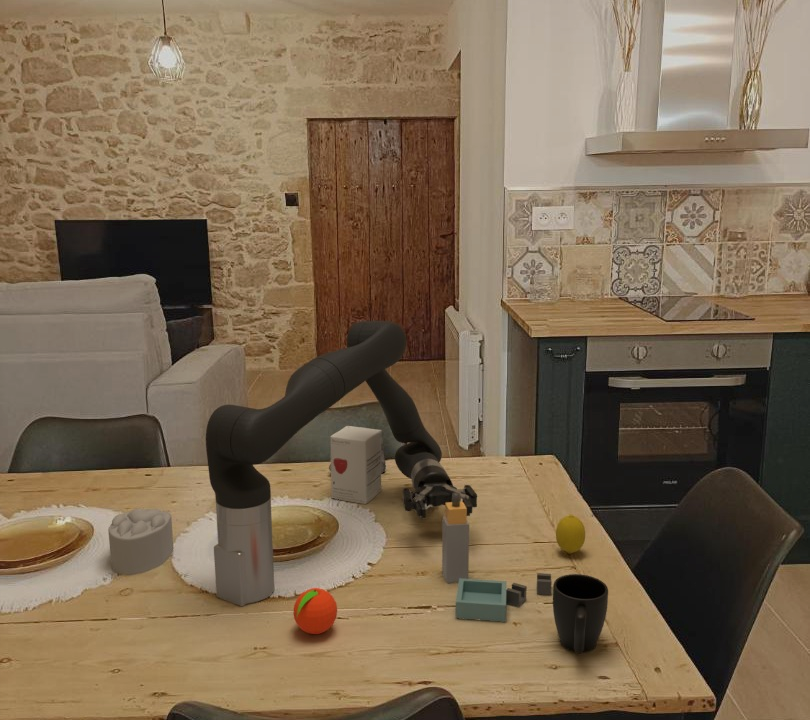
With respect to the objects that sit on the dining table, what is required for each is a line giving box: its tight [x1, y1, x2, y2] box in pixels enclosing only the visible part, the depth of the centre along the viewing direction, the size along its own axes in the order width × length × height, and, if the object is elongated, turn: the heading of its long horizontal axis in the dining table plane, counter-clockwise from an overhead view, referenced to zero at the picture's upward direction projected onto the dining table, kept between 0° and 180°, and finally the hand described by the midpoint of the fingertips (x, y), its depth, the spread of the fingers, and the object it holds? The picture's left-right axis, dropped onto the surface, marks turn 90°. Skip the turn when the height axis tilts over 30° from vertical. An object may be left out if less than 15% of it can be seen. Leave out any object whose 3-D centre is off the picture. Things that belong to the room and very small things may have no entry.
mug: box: [552, 573, 609, 654], centre depth 122 cm, size 8×12×10 cm
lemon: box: [555, 514, 586, 555], centre depth 154 cm, size 6×6×8 cm
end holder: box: [455, 578, 508, 623], centre depth 135 cm, size 8×8×3 cm
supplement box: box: [330, 425, 383, 505], centre depth 182 cm, size 9×9×15 cm
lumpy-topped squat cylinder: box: [107, 507, 175, 576], centre depth 152 cm, size 10×13×9 cm
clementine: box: [293, 587, 338, 635], centre depth 127 cm, size 8×7×7 cm
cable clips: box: [506, 572, 553, 608], centre depth 138 cm, size 9×5×2 cm, turn 147°
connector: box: [441, 492, 470, 584], centre depth 144 cm, size 4×4×16 cm
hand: (446, 512), depth 151 cm, fingers open, 8 cm apart
